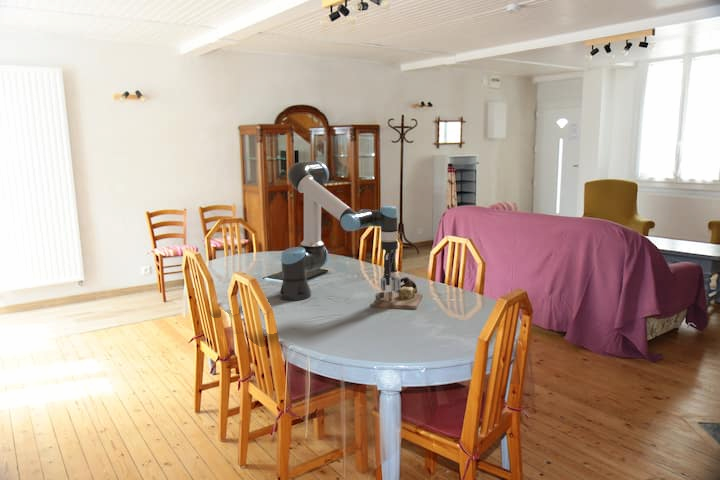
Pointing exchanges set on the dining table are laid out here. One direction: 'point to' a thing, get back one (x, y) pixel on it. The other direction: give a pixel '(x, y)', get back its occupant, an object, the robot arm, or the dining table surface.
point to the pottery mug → (408, 283)
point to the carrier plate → (398, 299)
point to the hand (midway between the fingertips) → (390, 288)
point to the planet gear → (392, 283)
